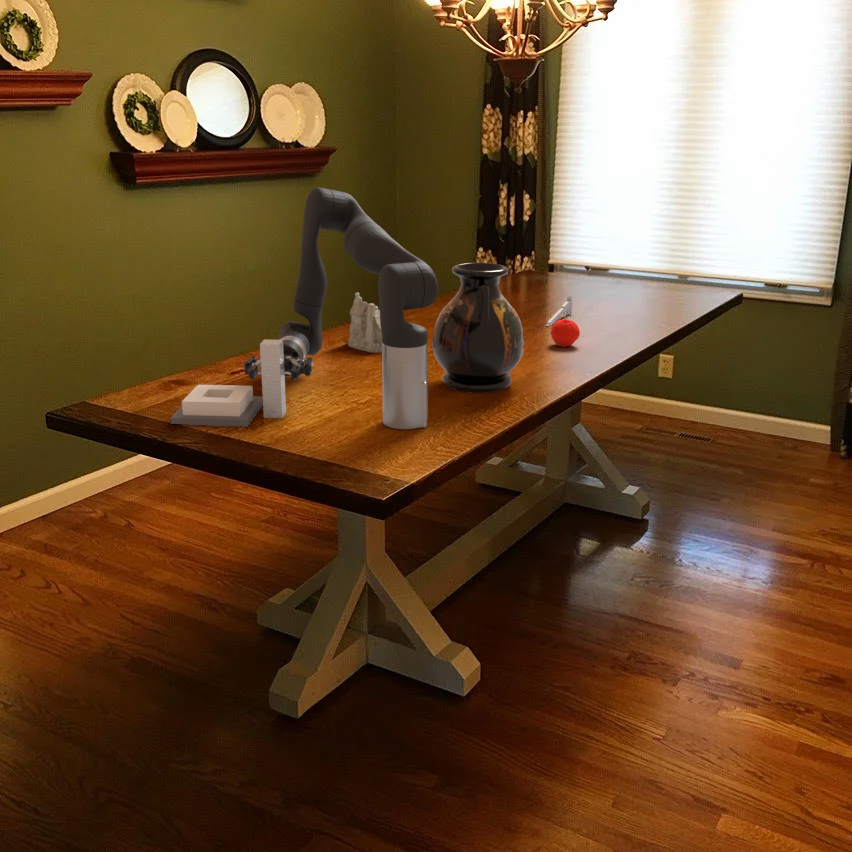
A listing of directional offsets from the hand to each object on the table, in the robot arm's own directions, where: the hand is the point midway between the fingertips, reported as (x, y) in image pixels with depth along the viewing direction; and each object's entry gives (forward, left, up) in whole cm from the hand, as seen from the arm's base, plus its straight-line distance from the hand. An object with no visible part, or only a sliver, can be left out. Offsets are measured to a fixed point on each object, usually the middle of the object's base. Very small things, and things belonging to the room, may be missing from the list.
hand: (272, 375), depth 195 cm
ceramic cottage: (-16, -63, -9) cm, 66 cm away
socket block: (+12, -1, -9) cm, 15 cm away
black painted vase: (-43, -27, -9) cm, 52 cm away
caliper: (-68, -98, -10) cm, 119 cm away
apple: (-67, -66, -9) cm, 94 cm away
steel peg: (0, -1, -9) cm, 9 cm away
